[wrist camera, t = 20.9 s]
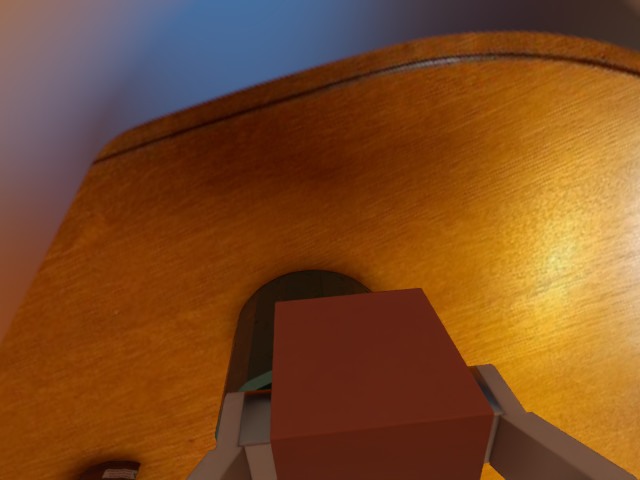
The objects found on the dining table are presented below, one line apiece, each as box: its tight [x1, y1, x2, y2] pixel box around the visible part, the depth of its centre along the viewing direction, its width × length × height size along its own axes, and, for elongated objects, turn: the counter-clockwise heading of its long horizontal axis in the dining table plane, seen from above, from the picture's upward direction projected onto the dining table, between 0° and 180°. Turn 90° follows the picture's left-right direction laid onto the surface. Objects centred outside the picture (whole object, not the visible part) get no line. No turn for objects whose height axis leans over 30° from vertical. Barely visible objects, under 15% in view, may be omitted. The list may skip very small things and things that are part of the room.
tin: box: [215, 270, 371, 441], centre depth 27 cm, size 13×13×10 cm
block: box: [270, 288, 495, 480], centre depth 10 cm, size 4×4×4 cm
